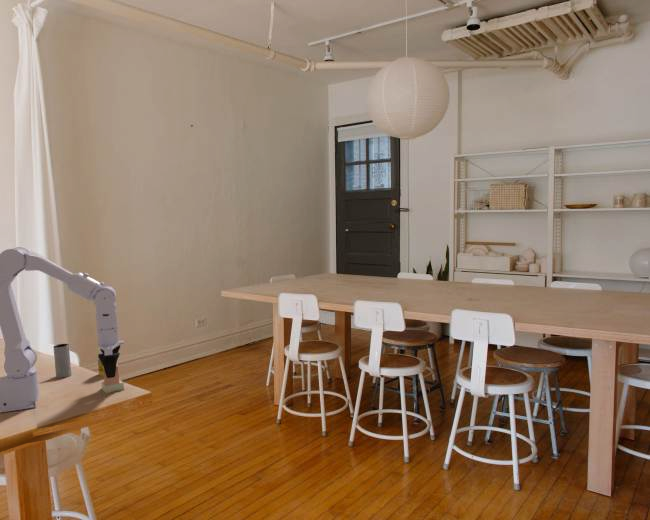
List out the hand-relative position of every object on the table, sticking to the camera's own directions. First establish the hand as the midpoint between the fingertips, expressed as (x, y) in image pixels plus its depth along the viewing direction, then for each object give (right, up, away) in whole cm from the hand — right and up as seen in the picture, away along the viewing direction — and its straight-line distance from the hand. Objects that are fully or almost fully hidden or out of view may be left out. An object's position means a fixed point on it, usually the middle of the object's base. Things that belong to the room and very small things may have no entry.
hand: (111, 373), depth 155 cm
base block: (0, -7, 0) cm, 7 cm away
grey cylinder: (-24, -5, +21) cm, 32 cm away
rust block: (0, -3, 0) cm, 3 cm away
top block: (0, -5, +1) cm, 5 cm away
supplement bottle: (-8, -5, +17) cm, 19 cm away
